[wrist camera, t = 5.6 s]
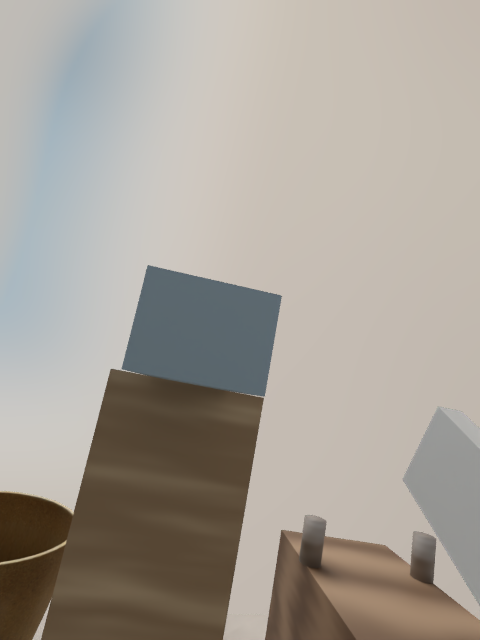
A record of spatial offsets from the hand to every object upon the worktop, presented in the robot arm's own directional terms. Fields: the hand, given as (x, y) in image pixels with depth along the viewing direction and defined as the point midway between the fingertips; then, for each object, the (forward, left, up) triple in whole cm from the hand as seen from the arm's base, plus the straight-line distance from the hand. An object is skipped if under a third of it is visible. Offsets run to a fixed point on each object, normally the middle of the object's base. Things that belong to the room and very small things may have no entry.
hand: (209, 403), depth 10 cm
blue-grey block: (-7, +9, 0) cm, 11 cm away
